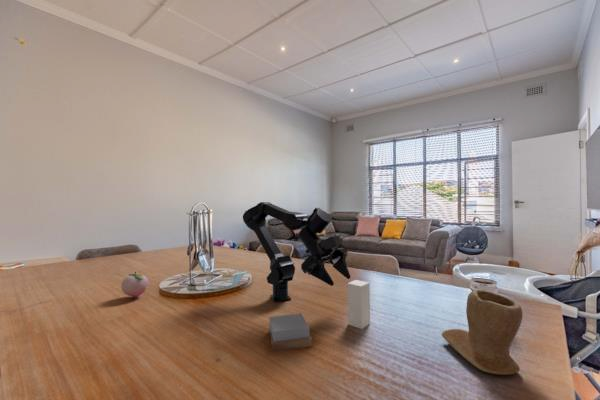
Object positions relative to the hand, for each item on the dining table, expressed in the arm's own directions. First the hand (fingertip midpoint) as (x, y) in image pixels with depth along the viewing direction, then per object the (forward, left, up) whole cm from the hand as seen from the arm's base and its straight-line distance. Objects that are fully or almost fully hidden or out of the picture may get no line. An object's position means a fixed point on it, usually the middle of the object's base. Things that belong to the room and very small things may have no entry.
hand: (341, 281), depth 84 cm
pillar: (+5, +3, -11) cm, 13 cm away
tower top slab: (+5, -19, -10) cm, 22 cm away
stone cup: (+31, +19, -12) cm, 38 cm away
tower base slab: (+6, -19, -12) cm, 23 cm away
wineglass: (+18, +37, -11) cm, 43 cm away
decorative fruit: (-46, -65, -12) cm, 80 cm away
